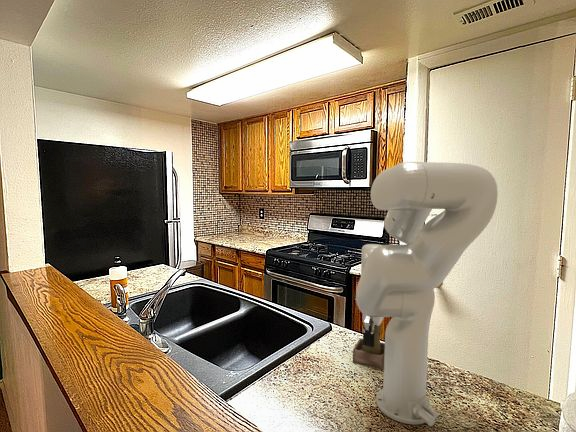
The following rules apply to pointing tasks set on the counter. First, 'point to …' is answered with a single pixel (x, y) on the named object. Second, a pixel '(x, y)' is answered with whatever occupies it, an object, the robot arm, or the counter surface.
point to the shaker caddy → (368, 356)
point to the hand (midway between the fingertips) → (371, 339)
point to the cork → (376, 348)
